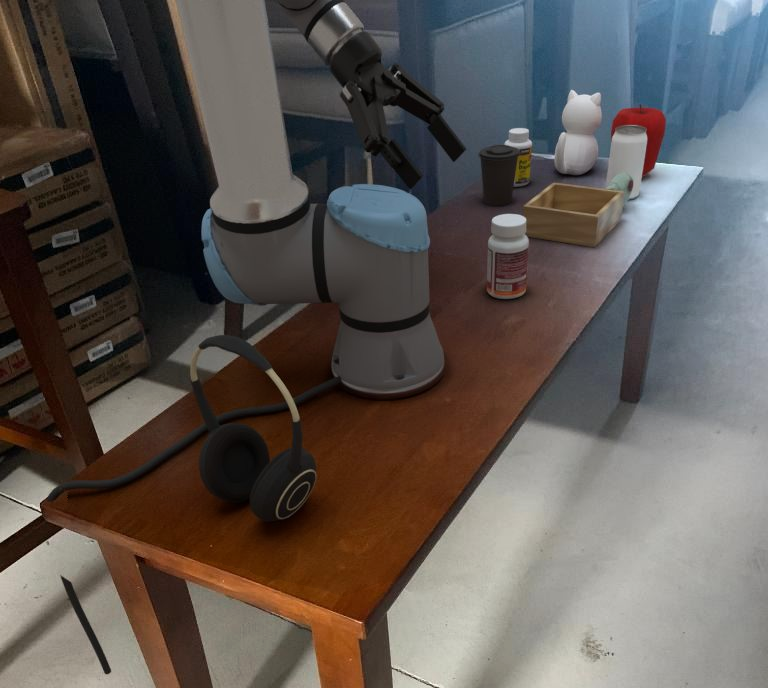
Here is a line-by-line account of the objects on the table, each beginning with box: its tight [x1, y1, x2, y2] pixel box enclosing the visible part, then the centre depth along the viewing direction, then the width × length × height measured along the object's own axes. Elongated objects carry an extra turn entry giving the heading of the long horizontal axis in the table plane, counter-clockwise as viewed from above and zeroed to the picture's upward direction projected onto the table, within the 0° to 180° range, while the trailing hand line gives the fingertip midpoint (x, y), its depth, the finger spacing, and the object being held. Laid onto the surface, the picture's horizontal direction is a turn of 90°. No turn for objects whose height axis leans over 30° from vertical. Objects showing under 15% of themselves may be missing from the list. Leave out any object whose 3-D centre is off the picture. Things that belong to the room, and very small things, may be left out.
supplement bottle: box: [503, 127, 533, 188], centre depth 157 cm, size 6×6×10 cm
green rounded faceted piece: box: [605, 173, 633, 206], centre depth 143 cm, size 8×4×7 cm, turn 142°
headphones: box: [189, 334, 317, 522], centre depth 78 cm, size 9×15×20 cm, turn 53°
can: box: [605, 125, 647, 201], centre depth 147 cm, size 6×6×12 cm
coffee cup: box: [477, 144, 521, 207], centre depth 150 cm, size 8×8×10 cm
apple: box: [610, 103, 667, 178], centre depth 155 cm, size 10×10×14 cm
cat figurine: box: [553, 89, 603, 176], centre depth 159 cm, size 9×12×15 cm
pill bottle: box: [486, 213, 530, 300], centre depth 118 cm, size 6×6×11 cm
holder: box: [522, 182, 625, 248], centre depth 138 cm, size 14×14×5 cm
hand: (439, 169), depth 115 cm, fingers open, 13 cm apart
